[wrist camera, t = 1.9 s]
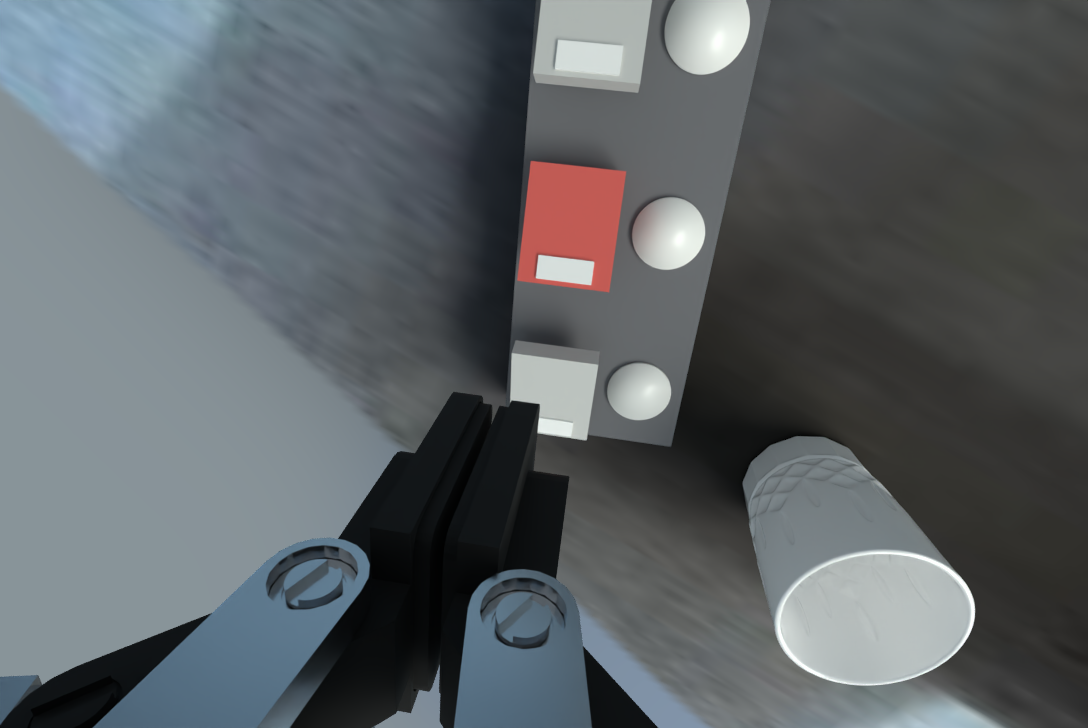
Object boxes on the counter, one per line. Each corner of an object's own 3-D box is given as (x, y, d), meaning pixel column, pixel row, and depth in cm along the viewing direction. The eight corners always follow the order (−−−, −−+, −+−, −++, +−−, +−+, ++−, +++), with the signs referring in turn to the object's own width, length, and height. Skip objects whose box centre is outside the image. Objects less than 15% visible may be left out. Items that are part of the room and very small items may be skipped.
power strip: (560, -179, 22) (550, -232, 19) (791, -164, 21) (822, -216, 18) (513, 397, 33) (502, 427, 29) (666, 419, 32) (671, 453, 29)
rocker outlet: (515, 340, 26) (511, 354, 25) (599, 351, 26) (598, 366, 25) (513, 415, 29) (509, 430, 28) (587, 426, 29) (586, 441, 28)
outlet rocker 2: (533, 165, 24) (530, 160, 23) (625, 176, 24) (626, 170, 23) (520, 280, 25) (516, 280, 24) (608, 291, 25) (609, 292, 23)
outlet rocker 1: (551, -59, 21) (549, -77, 20) (658, -50, 20) (661, -69, 19) (535, 82, 22) (532, 72, 20) (638, 93, 21) (640, 82, 20)
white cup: (707, 504, 34) (739, 644, 25) (780, 403, 31) (848, 521, 22) (819, 554, 34) (892, 708, 25) (903, 459, 31) (1021, 598, 22)
